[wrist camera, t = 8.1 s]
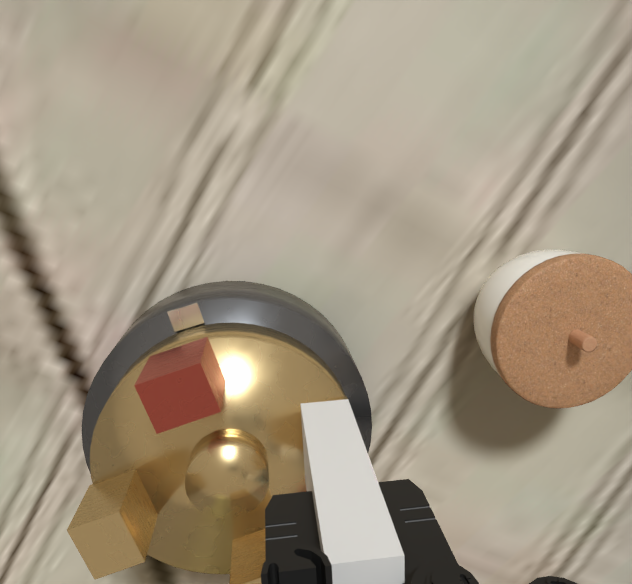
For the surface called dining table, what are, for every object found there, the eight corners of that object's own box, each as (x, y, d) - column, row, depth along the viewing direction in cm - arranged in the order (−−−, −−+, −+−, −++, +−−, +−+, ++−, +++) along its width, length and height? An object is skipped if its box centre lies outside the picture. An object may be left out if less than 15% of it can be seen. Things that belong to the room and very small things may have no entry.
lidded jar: (527, 386, 43) (598, 447, 34) (427, 326, 41) (475, 375, 32) (606, 279, 42) (702, 314, 33) (505, 211, 39) (579, 228, 30)
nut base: (383, 469, 44) (400, 509, 39) (157, 541, 43) (145, 591, 38) (320, 247, 38) (330, 261, 33) (60, 326, 38) (30, 352, 33)
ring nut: (309, 287, 33) (322, 320, 27) (379, 496, 38) (405, 569, 31) (59, 372, 33) (9, 428, 26) (162, 572, 38) (141, 663, 31)
